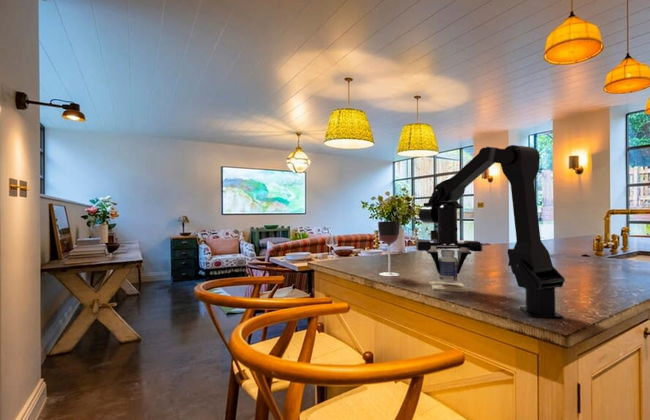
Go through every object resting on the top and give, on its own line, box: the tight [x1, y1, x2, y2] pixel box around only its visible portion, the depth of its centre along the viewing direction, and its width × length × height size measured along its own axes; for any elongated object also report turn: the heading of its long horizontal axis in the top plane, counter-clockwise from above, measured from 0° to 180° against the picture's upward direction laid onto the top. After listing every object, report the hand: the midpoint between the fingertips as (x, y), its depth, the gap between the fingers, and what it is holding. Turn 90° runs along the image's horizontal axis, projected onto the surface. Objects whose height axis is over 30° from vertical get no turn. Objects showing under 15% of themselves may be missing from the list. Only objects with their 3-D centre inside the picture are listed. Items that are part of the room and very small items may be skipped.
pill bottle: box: [438, 249, 458, 283], centre depth 101 cm, size 5×5×10 cm
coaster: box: [428, 281, 470, 293], centre depth 101 cm, size 10×10×1 cm
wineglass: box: [377, 221, 400, 277], centre depth 123 cm, size 8×9×20 cm
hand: (448, 273), depth 101 cm, fingers closed on pill bottle, 5 cm apart
